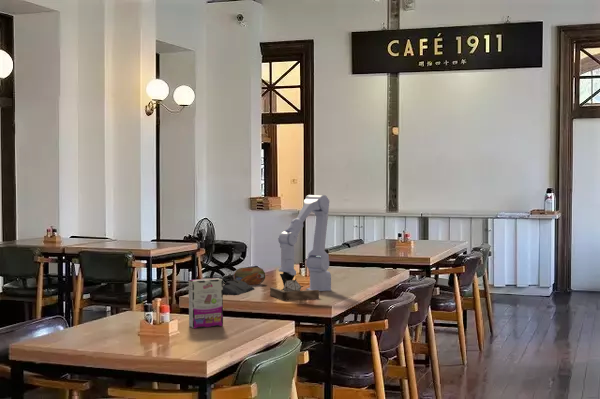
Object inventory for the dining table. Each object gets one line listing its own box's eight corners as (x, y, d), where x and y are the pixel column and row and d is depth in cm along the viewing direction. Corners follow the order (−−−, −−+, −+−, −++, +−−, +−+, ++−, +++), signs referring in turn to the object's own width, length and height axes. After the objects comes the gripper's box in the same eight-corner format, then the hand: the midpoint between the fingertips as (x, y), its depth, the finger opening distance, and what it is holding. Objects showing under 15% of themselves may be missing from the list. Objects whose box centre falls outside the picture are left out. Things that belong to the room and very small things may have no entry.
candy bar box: (218, 323, 274) (218, 277, 273) (223, 326, 269) (223, 279, 269) (187, 326, 269) (188, 279, 268) (192, 328, 264) (193, 281, 264)
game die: (295, 306, 335) (301, 290, 329) (277, 298, 335) (282, 282, 329) (300, 293, 342) (307, 277, 336) (283, 286, 343) (288, 270, 337)
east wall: (273, 295, 341) (273, 287, 341) (286, 300, 328) (287, 292, 328) (270, 295, 341) (270, 287, 340) (283, 300, 327) (283, 292, 327)
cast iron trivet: (206, 294, 345) (206, 283, 345) (226, 288, 366) (226, 278, 365) (238, 296, 340) (238, 285, 340) (256, 289, 361) (256, 279, 361)
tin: (234, 285, 372) (234, 267, 372) (233, 284, 375) (233, 267, 375) (265, 284, 375) (265, 267, 375) (264, 283, 378) (264, 266, 378)
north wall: (317, 297, 335) (317, 289, 335) (318, 298, 334) (318, 290, 334) (282, 299, 328) (282, 291, 328) (283, 300, 327) (283, 292, 327)
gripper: (272, 257, 346) (272, 288, 346) (285, 261, 333) (285, 292, 333) (287, 257, 349) (286, 287, 349) (300, 260, 336) (300, 291, 336)
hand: (287, 289), depth 342 cm, fingers closed
